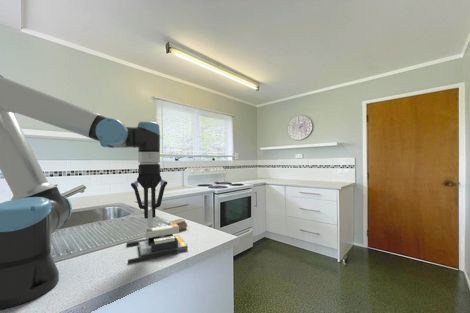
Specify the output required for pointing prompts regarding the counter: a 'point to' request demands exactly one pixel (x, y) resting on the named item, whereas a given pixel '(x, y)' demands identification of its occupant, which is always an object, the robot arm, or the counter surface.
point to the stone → (179, 224)
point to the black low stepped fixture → (132, 243)
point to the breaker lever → (161, 231)
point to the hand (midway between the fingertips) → (149, 226)
